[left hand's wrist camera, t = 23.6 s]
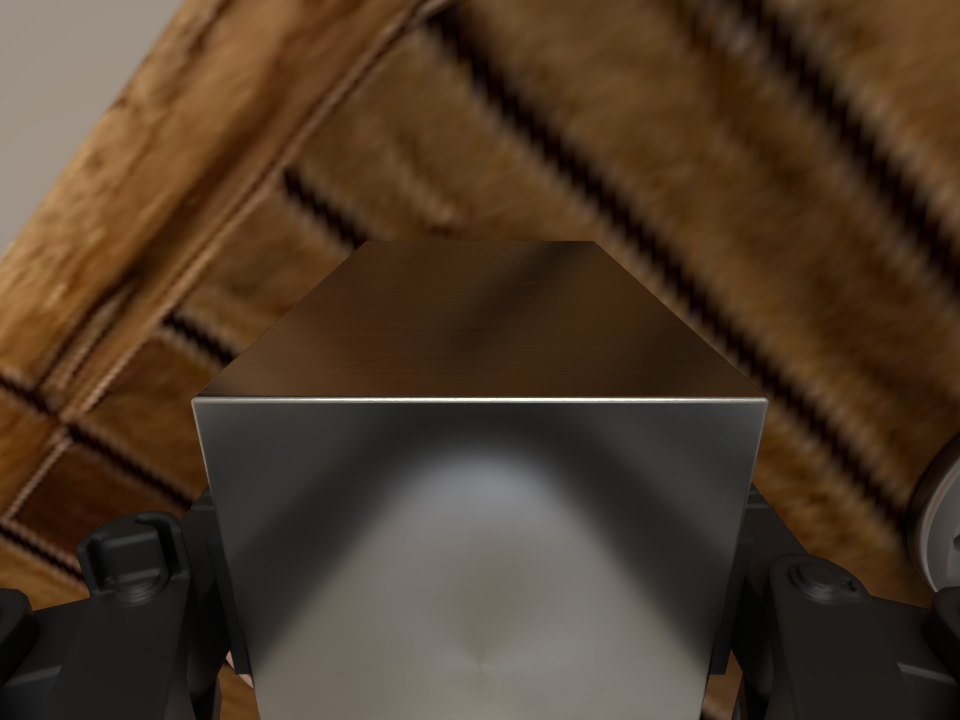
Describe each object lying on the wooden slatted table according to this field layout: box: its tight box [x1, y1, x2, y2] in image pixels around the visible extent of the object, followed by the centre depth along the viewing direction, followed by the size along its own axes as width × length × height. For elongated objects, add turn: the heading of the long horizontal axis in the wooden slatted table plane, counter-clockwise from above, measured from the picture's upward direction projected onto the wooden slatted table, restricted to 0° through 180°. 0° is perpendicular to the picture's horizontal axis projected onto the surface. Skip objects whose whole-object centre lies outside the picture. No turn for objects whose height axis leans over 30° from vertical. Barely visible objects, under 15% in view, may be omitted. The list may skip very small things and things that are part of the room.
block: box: [191, 241, 769, 720], centre depth 12 cm, size 8×6×10 cm
